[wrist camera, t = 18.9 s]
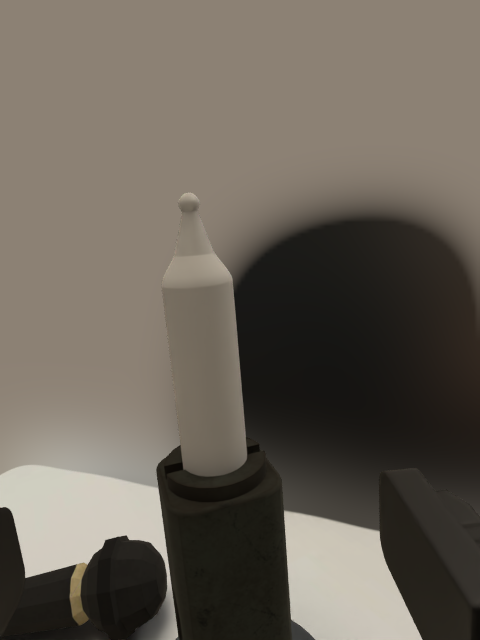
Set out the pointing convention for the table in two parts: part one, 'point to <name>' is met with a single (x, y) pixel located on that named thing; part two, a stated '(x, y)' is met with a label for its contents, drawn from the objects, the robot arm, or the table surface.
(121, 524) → the table surface
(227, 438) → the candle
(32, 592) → the microphone
